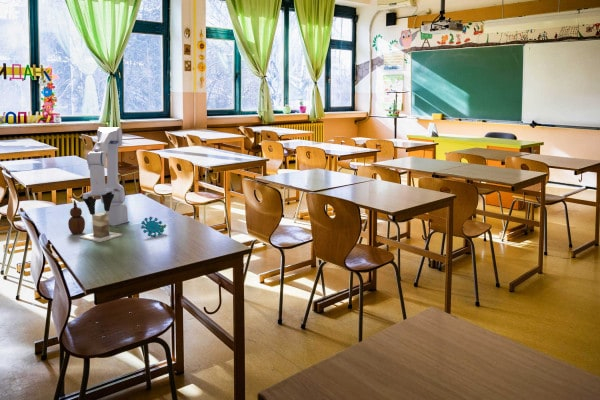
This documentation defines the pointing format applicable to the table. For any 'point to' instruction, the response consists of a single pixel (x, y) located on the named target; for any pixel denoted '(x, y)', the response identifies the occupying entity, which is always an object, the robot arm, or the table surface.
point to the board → (100, 239)
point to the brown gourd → (76, 220)
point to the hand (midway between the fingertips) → (99, 212)
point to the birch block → (100, 219)
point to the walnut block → (101, 230)
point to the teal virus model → (153, 227)
